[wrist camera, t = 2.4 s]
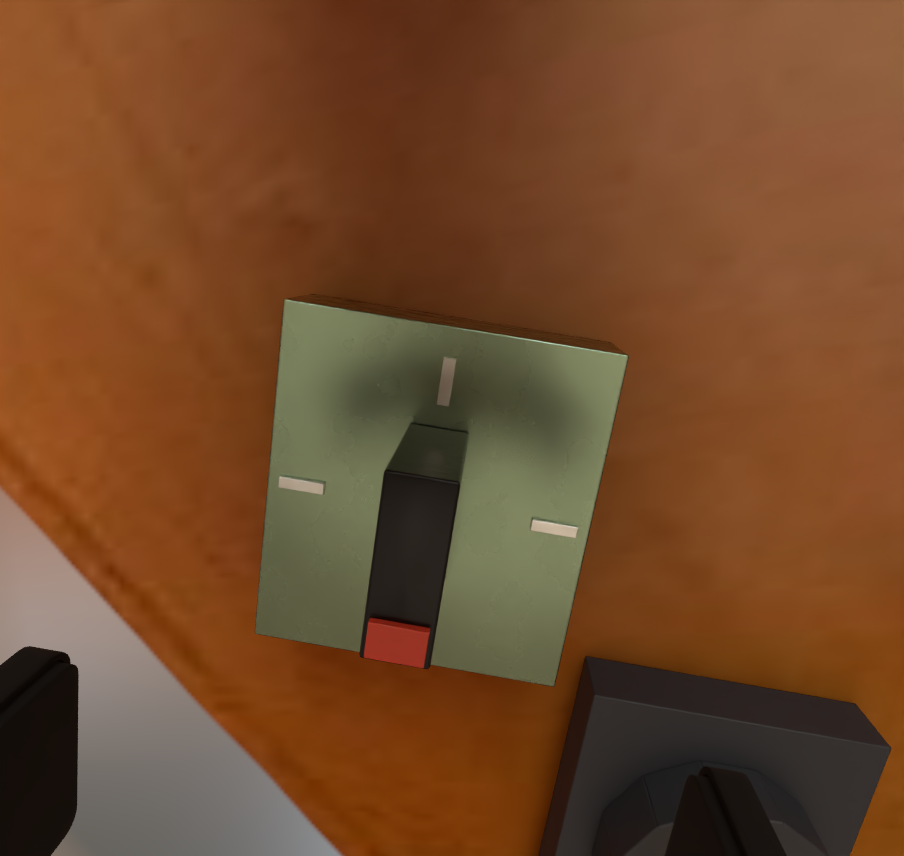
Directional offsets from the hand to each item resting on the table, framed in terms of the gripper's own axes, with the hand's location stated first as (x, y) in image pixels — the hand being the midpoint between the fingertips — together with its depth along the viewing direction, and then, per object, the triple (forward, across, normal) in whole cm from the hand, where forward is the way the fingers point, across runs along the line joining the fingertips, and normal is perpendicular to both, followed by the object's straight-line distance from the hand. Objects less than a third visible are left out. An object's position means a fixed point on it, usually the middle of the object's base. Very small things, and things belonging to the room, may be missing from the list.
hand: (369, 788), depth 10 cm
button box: (+14, -11, +11) cm, 21 cm away
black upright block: (+11, 0, 0) cm, 11 cm away
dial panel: (+14, 0, 0) cm, 14 cm away
